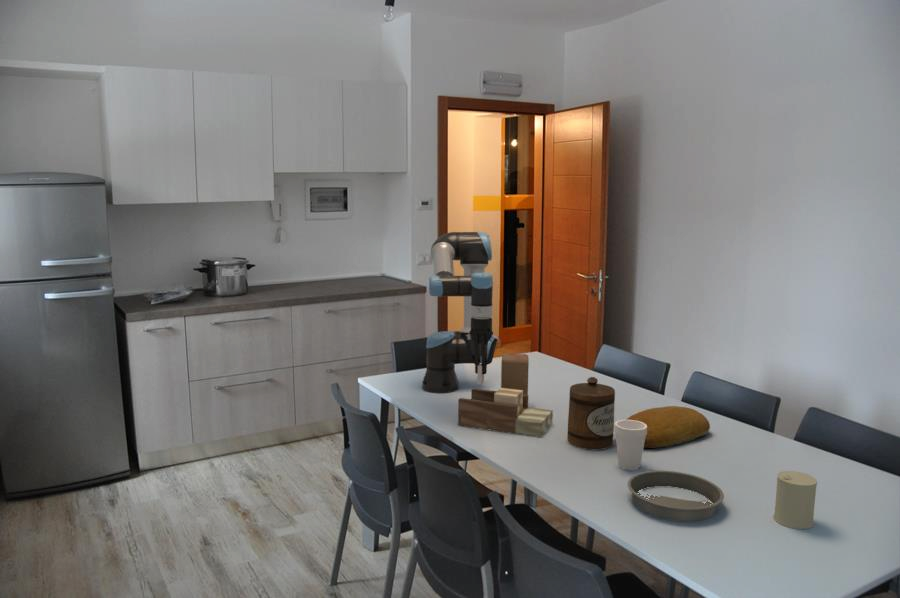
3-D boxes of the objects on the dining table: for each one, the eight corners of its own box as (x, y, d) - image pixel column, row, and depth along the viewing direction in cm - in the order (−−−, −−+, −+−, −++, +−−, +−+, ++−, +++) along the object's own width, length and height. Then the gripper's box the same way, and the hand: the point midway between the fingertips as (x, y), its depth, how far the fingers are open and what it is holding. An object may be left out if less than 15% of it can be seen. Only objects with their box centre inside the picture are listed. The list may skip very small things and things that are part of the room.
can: (766, 513, 186) (770, 469, 184) (800, 512, 187) (804, 468, 185) (785, 530, 177) (789, 484, 175) (821, 528, 178) (825, 483, 176)
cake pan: (743, 518, 184) (744, 501, 183) (659, 530, 177) (660, 513, 176) (686, 480, 207) (687, 465, 206) (610, 490, 200) (610, 474, 199)
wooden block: (527, 404, 277) (528, 353, 274) (527, 412, 267) (528, 360, 264) (501, 403, 278) (502, 352, 275) (500, 411, 268) (501, 359, 265)
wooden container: (597, 453, 227) (600, 386, 223) (558, 442, 237) (560, 377, 233) (621, 441, 237) (624, 377, 234) (582, 430, 247) (585, 369, 244)
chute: (473, 413, 266) (473, 388, 264) (552, 423, 254) (552, 397, 253) (458, 425, 252) (458, 399, 250) (541, 437, 241) (541, 410, 239)
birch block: (501, 406, 257) (501, 387, 256) (522, 409, 254) (523, 390, 253) (493, 413, 250) (494, 393, 249) (515, 416, 247) (516, 396, 246)
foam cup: (627, 474, 211) (629, 431, 208) (606, 463, 219) (608, 422, 217) (651, 468, 215) (653, 427, 213) (630, 458, 223) (632, 418, 221)
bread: (720, 436, 243) (722, 408, 242) (644, 455, 226) (646, 425, 224) (678, 421, 259) (679, 394, 257) (604, 437, 241) (606, 409, 240)
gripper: (460, 317, 250) (459, 383, 253) (495, 320, 245) (494, 387, 248) (467, 314, 257) (467, 378, 260) (502, 316, 252) (501, 382, 255)
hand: (480, 382), depth 254 cm, fingers closed
